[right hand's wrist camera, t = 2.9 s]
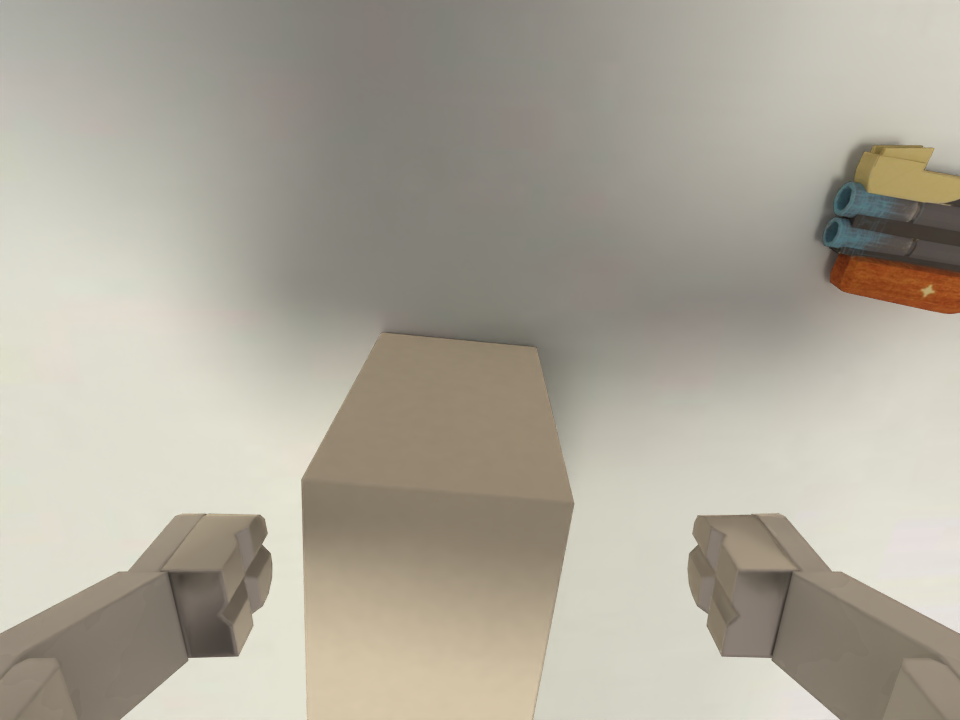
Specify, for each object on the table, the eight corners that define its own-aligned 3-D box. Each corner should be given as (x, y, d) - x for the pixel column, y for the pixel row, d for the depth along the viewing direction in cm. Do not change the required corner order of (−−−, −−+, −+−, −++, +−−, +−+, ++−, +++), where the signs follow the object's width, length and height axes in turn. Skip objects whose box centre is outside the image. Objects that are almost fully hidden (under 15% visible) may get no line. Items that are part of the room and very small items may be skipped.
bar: (380, 331, 19) (299, 478, 11) (537, 346, 19) (575, 502, 11) (365, 797, 28) (314, 1069, 20) (471, 805, 29) (464, 1078, 20)
